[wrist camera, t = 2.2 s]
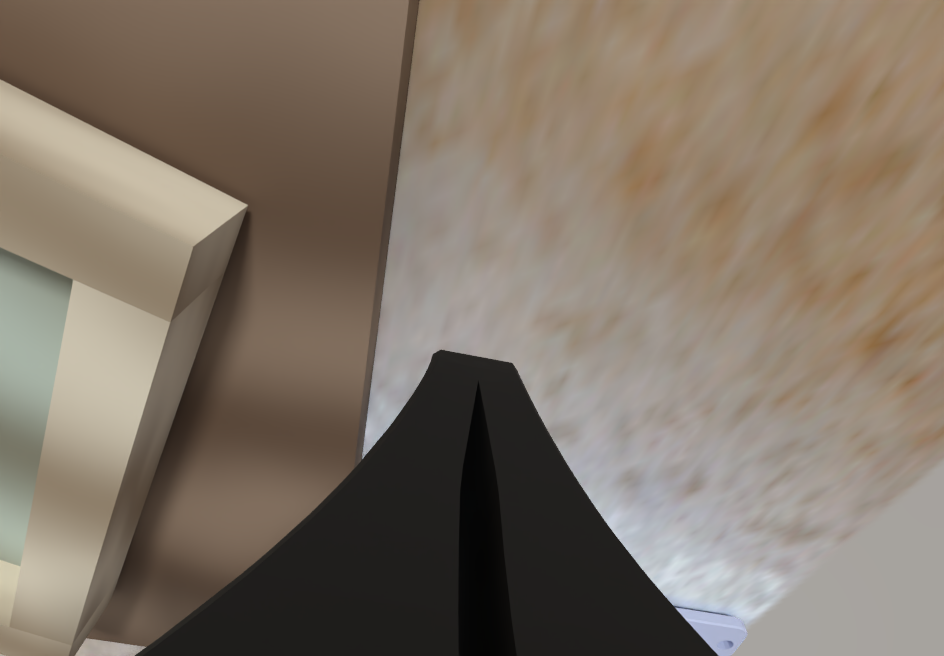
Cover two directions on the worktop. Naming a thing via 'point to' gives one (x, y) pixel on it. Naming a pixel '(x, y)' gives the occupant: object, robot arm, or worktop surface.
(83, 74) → the walnut board
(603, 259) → the worktop surface
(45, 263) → the picture frame
